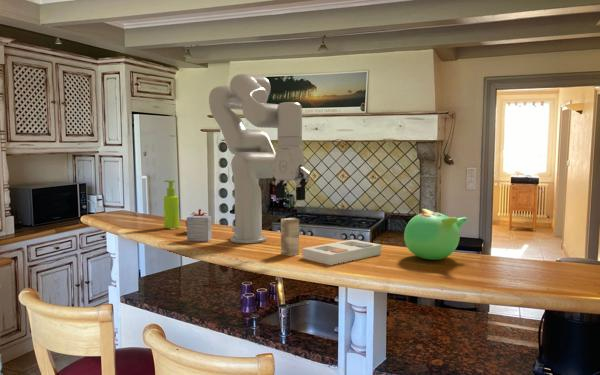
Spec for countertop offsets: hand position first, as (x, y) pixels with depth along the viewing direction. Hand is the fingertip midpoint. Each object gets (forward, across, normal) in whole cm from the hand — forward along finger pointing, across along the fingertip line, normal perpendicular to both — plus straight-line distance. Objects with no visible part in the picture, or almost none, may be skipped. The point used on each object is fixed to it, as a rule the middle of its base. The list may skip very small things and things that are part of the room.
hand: (290, 199), depth 148 cm
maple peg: (+17, 0, 0) cm, 17 cm away
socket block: (+17, +13, +10) cm, 24 cm away
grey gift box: (+17, -39, -10) cm, 44 cm away
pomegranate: (+17, -54, -2) cm, 57 cm away
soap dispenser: (+17, -72, -5) cm, 74 cm away
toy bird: (+18, +33, +28) cm, 47 cm away
